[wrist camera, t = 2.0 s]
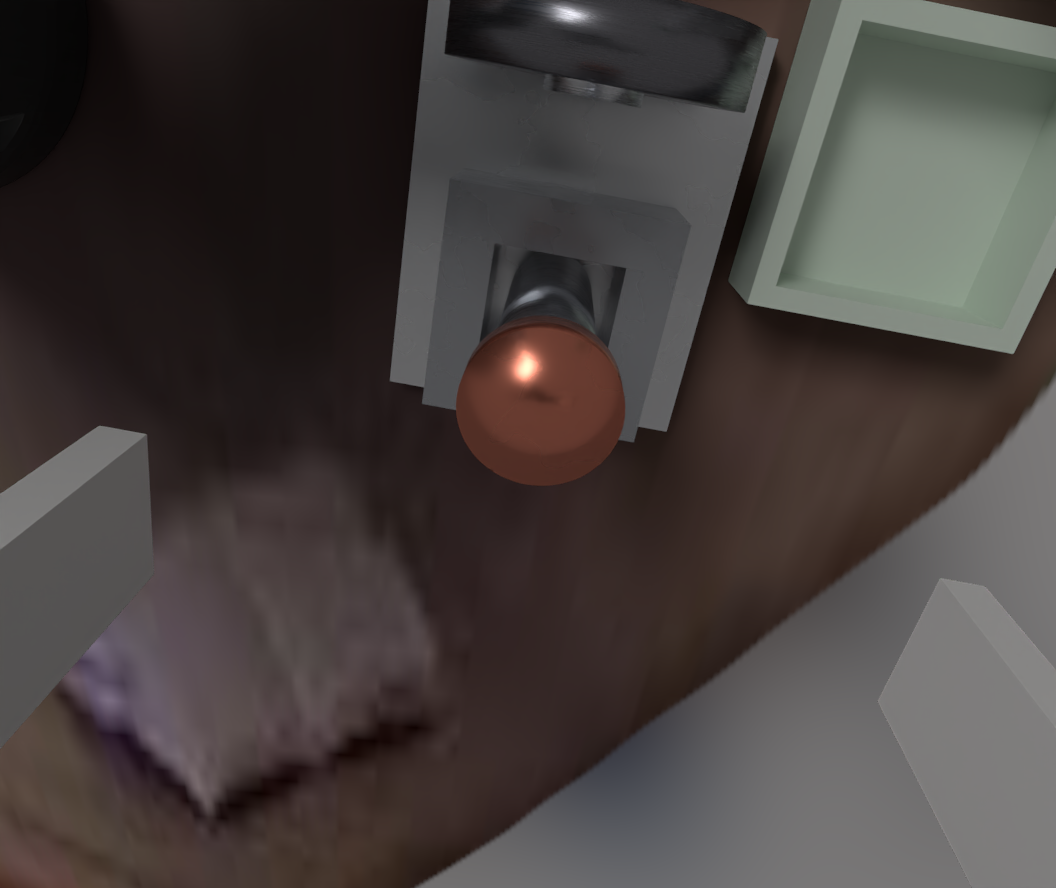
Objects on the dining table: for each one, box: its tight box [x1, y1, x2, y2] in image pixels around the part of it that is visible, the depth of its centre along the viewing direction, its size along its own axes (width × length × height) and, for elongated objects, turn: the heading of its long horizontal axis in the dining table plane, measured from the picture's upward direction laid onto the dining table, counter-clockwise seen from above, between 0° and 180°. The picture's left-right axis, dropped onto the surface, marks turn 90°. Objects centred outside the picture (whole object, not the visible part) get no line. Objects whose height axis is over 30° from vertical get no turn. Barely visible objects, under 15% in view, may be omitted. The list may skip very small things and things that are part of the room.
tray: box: [728, 0, 1056, 354], centre depth 26 cm, size 10×10×4 cm
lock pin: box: [456, 252, 625, 486], centre depth 24 cm, size 4×4×12 cm
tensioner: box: [390, 0, 778, 442], centre depth 25 cm, size 12×15×10 cm
